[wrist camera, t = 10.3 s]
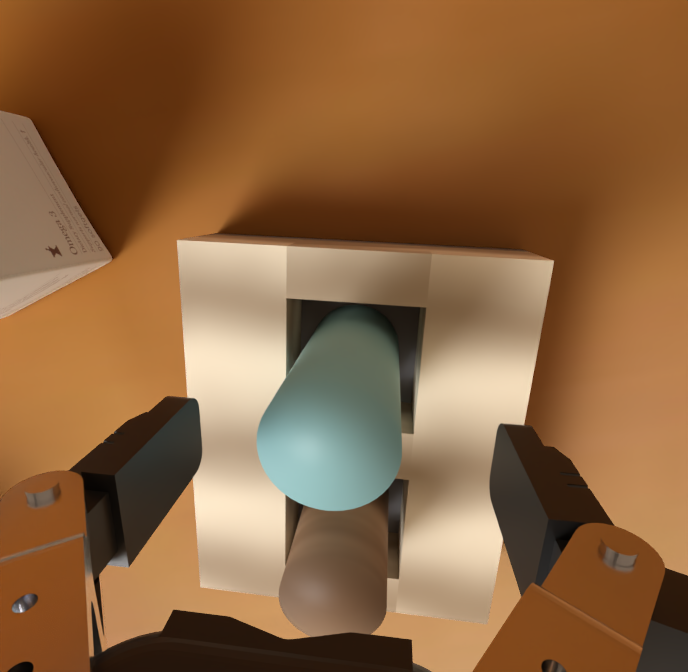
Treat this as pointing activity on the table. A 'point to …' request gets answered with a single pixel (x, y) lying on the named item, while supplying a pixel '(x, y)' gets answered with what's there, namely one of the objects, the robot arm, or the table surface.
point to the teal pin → (337, 414)
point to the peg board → (416, 420)
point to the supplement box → (38, 221)
